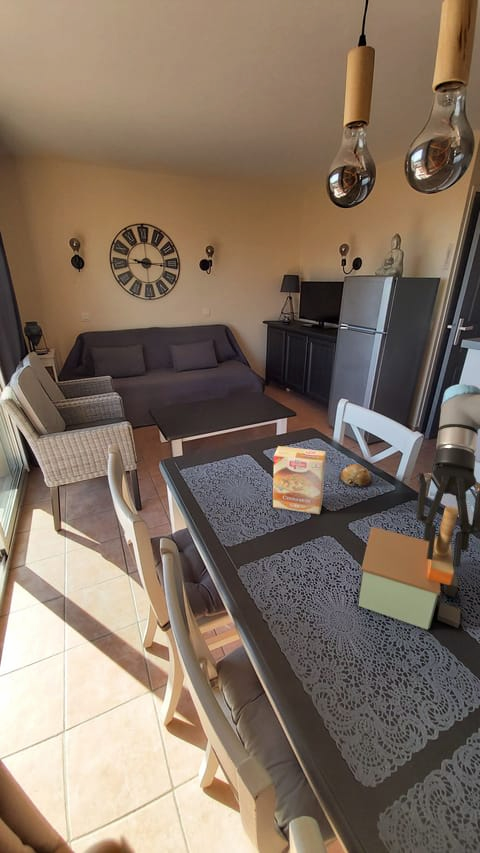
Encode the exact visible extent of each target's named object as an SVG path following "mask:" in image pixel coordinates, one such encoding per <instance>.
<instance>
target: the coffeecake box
mask: <svg viewBox="0 0 480 853" xmlns="http://www.w3.org/2000/svg"><path fill="white" fill-rule="evenodd" d="M326 455H327V451H326V450H317V449H309V448H301V447H290V446H281V445H278V446H277V448H276V450H275V452H274V454H273V486H272V488H273V489H272V490H273V493H272V494H273V495H272V497H273V498H272V499H273V500H272V507H273V508H276V509H281V510H286V511H287V510H288V511H295V512H301V513H307V514H316V515H320V514H321V510H322V505H323V496H324V484H325V470H326V459H327V458H326V457H327V456H326Z"/></svg>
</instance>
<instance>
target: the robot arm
mask: <svg viewBox="0 0 480 853" xmlns="http://www.w3.org/2000/svg"><path fill="white" fill-rule="evenodd" d="M441 402H442V403H441V405H440V416H439V423H438V424H439V425H438V431H437V439H436V448H435V449H436V451H435V453H434V460H433V461H434V462H433V468H432V470H431V471H430V472H428V473H422V472H419V473H418V474H417V477H416V481H417V483H418V493H417V494H418V496H417V506H416V513H415V514H416V516H415V519H416V520H417V521H419V522H421V523H423V525H424V530H423V536H422V540H424V541H428V542H429V544H428V552H427V559H429V560H431V559H432V558H433V550H434V542H435V536H436V532H437V525H433V523H434V520H435V518H436V515H437V512H438V510H439V507H440V505H441V502H442V499H443V497H444V494H445V495H452V496H454V497H455V500H456V505H457V506H456V507H457V510H458V511H459V513H458V520H459V521H458V522H459V528H460V531H457V532H456V533H455V541H454V542H455V543H454V550H453V551H454V552H453V567H455V568H458V567H461V558H462V551H464V552H466V551H467V550H468V549H469V543H470V542H469V541H470V540H469V539H470V535H474V534H478V533H480V482H478V481H477V478H476V477H475V468H476V466H475V465H476V453H477V446H478V435H479V430H480V388H479V387H478V386H476V385H473V384H465V383H460V384H453V385H451V386H449V387H448V388H447V389H445V390H444V393H443V397H442V401H441ZM430 480H431V481H432V483H433V484H434V486H435V487H436V489H437V490H436V492H435V495H434V498H433V500H432V502H431V506H430V508H429V510H428V514H427V516H426V515H425V506H426V494H427V485H428V484H429V483H430ZM472 488H474V493H475V494H476V496H475V501H474V506H473V513H472V514H473V515H472V522H471V525H470V518H469V513H468V512H469V510H468V504H467V492H468V491H469V490H471V489H472Z"/></svg>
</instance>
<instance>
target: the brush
mask: <svg viewBox="0 0 480 853" xmlns="http://www.w3.org/2000/svg"><path fill="white" fill-rule="evenodd" d="M458 518H459V511H458V508H456V507H453V506H445V508H444V510H443V515H442V519H441V523H440V525H439V526H440V527H439V530H438V534H437V535H435V542H434V550H433V558H432V559H431V560H429V559H427V570H428V579H429V580H432V581H436V582H439V583H440V584H443V585H444V584H447V585H450V584H451V580H452V577H453V573H454V574H455V570H454V566H453V560H454V558H453V552H452V539H453V535H454V531H455V528H456V524H457V521H458ZM428 544H429V542H428ZM427 552H428V545H427Z"/></svg>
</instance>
